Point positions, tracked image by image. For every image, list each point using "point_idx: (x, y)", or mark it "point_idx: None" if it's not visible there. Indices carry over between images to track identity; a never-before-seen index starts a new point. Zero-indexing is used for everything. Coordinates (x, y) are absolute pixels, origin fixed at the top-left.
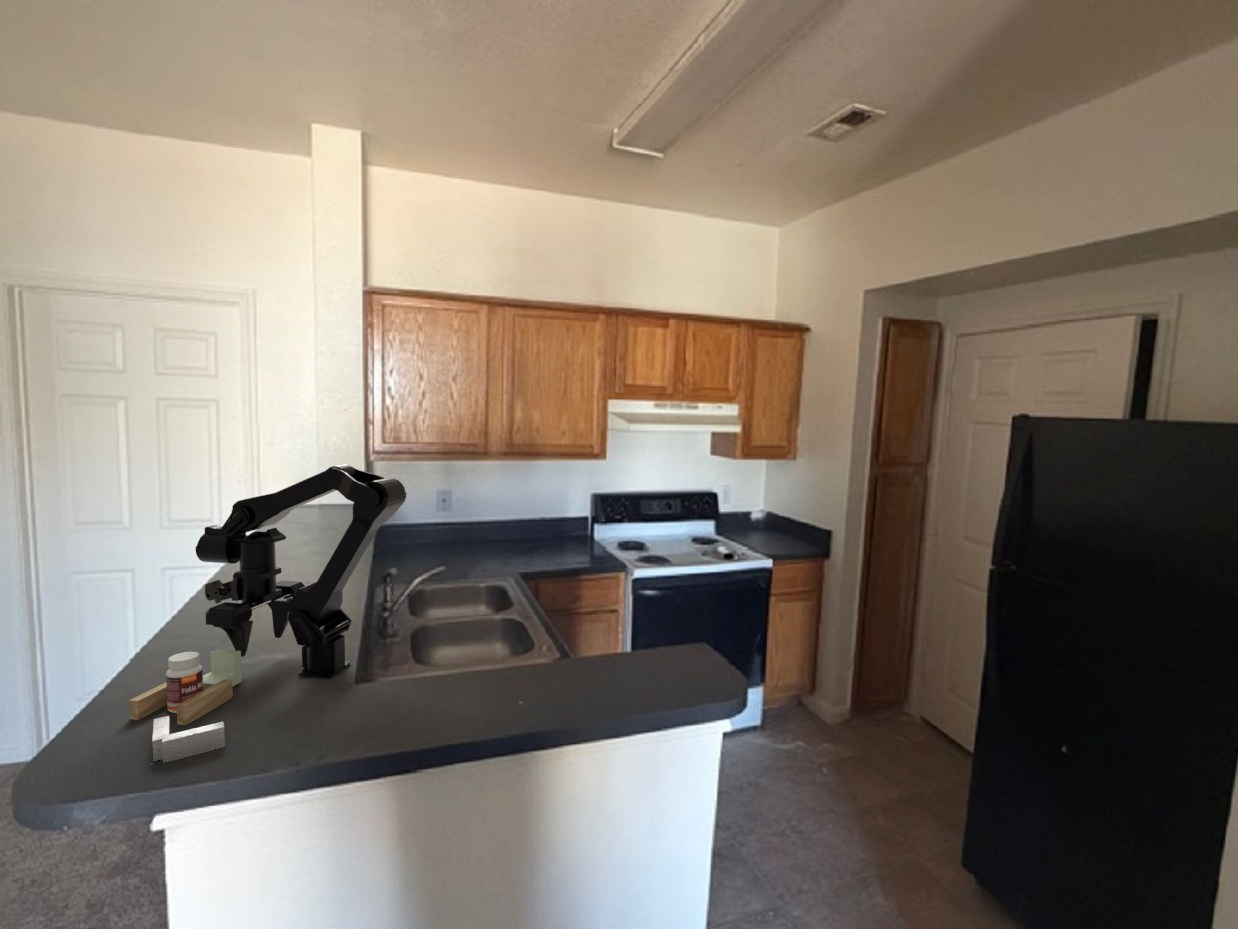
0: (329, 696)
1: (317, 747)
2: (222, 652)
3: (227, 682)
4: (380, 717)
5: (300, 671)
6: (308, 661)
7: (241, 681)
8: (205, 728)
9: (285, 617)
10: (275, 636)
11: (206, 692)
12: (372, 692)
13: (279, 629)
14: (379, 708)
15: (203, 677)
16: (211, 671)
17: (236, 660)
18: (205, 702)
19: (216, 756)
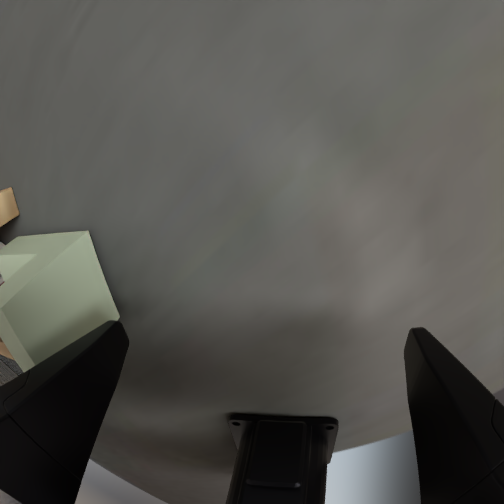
0: (185, 460)
1: (99, 457)
2: (12, 351)
3: None
4: (175, 488)
5: (238, 421)
6: (239, 459)
7: (118, 317)
8: None
9: (423, 487)
10: (411, 335)
11: (3, 351)
12: (226, 486)
13: (415, 395)
14: (191, 489)
15: (14, 265)
16: (36, 257)
17: None
18: None
19: None
